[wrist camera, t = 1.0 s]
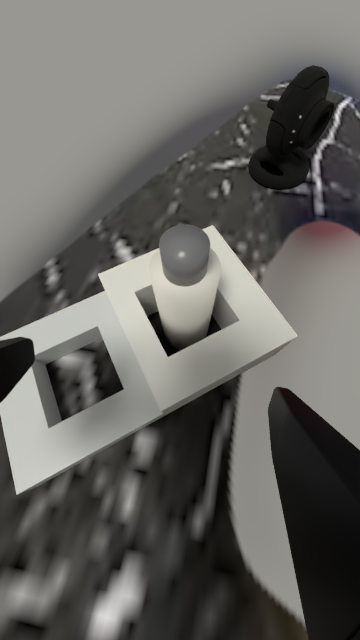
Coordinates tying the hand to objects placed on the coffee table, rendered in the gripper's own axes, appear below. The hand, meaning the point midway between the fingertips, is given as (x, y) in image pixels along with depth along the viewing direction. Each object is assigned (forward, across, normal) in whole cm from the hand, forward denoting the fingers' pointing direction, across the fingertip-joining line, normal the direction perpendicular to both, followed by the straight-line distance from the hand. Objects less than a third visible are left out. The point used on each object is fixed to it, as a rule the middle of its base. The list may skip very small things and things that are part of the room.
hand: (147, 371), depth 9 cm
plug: (+14, 0, +4) cm, 15 cm away
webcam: (+31, -8, -12) cm, 35 cm away
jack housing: (+12, +4, +7) cm, 14 cm away
